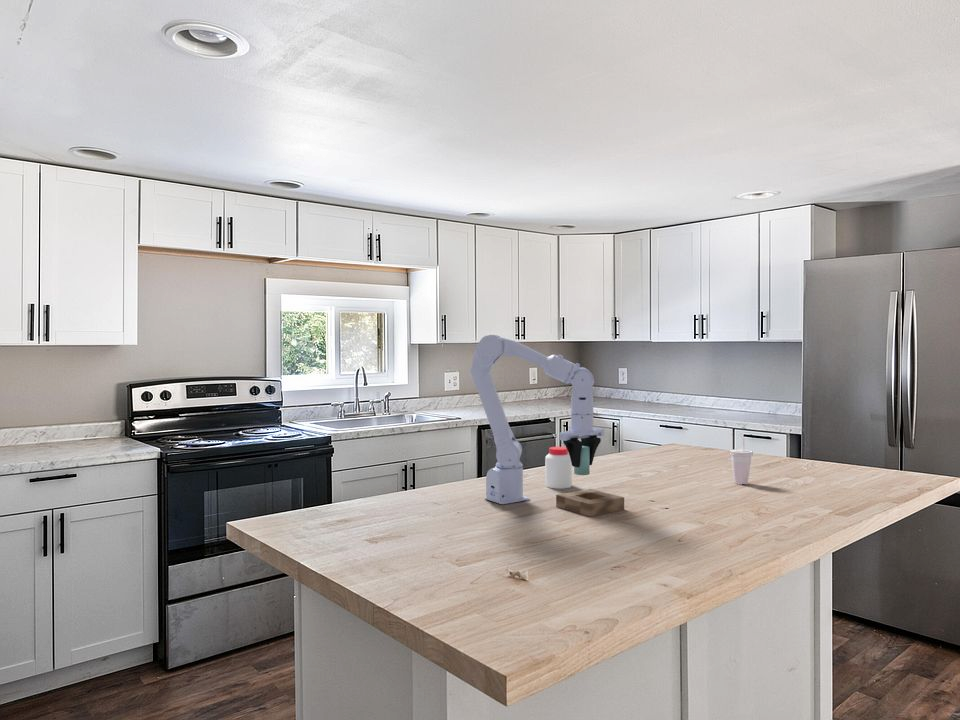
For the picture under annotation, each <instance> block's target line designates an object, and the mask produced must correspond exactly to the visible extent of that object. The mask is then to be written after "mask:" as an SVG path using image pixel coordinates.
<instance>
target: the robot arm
mask: <svg viewBox="0 0 960 720" xmlns="http://www.w3.org/2000/svg"><path fill="white" fill-rule="evenodd" d="M501 356H503V357H510V356H511V357H512V356H515V357H517V358H520V359H523V360H525V361H526V362H529V363H532V364H533V365H537V366H539V367H541V368H542V369H543V372H544V374H545V376H546V375H547V376H549V377H550V378H553V379H555V380H556V381H557V380H558V381H559V382H561V383H563V384H566V385H569V384H571V386H572V390H571V391H572V394H571V396H570V398H571V400H570V401H571V402H570V405H571V409H570V428H571V429H570V430H566V431H563V432H561V431H560V432H559V434H558V435H559V437H558V438H559V441H563V444H564V447H566V448H567V450H568V454H569V455H570V459H571V463H572V467H573V468H574V467H580V456H581V450H582V446H588V447H590V466H592V465H593V463H594V457H595V455H596V452H597V449H598V447H599V445H600V443H601V441H602V439H601V437H604V436H605V428H600V427H599V428H595V427H594V396H593V394H594V389H593V387H594V384H595V377H594V375H593V373H592V372H591V371H590V370H589V369H588V368H586V367H584V366H581V364H580V363H578V362H576V363H574V362H572V361H570V360H568V359H565V358H564V355H561V354H558V355H557V354H551V355H549V356H546V355H545V354H542V353H541V352H538V351H536V350H534V349H532V348H530V347H528V346H527V345H525V344H523V343H520V342H518V341H516V340H512V339H509V338H506V337H501V336H499V335H496V334H487V335H484V336H483V337H482V338H481V339H480V340H479V342H478V343H477V344H476V347H475V349H474V354H473V359H472V363H471V367H470V373H471V376H472V379H473V382H474V384H475V385H474V386H475V387H476V391H477V393H478V396H479V399H480V401H481V404H482V406H483V407H482V408H483V410H484V412H485V414H486V418H487V420H488V424H489V427H490V429H491V431H492V435H493V439H494V444H495V448H496V451H495V452H496V453H495V458H496V460H497V461H496V463H495V466H494V467H493V468H490V469H488V470H487V472H486V477H485V485H486V488H485V492H486V493H485V494H486V495H485V496H484V500H488V501H491V502H494V503H497V504H500V505H507V504H513V503H518V502H524V501H529V500H530V497H528V496H525V495H524V489H523V488H524V487H523V486H524V484H523V483H524V477H523V476H524V464H523V463H522V462H521V460H520V459H521V456H522V453H523V447H522V444H521V443H520V442H519V441H518V440H517V438H516V437H515V435H514V433H513V430H512V429H511V426H510V424H509V422H508V418H507V416H506V413H505V410H504V408H503V405H502V402H501V400H500V397H499V394H498V392H497V388H496V386H495V383H494V379H493V378H492V374H491V371H492V369H493V367H494V365H495V363H496V361H497V360H499V358H500V357H501Z"/></svg>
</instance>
